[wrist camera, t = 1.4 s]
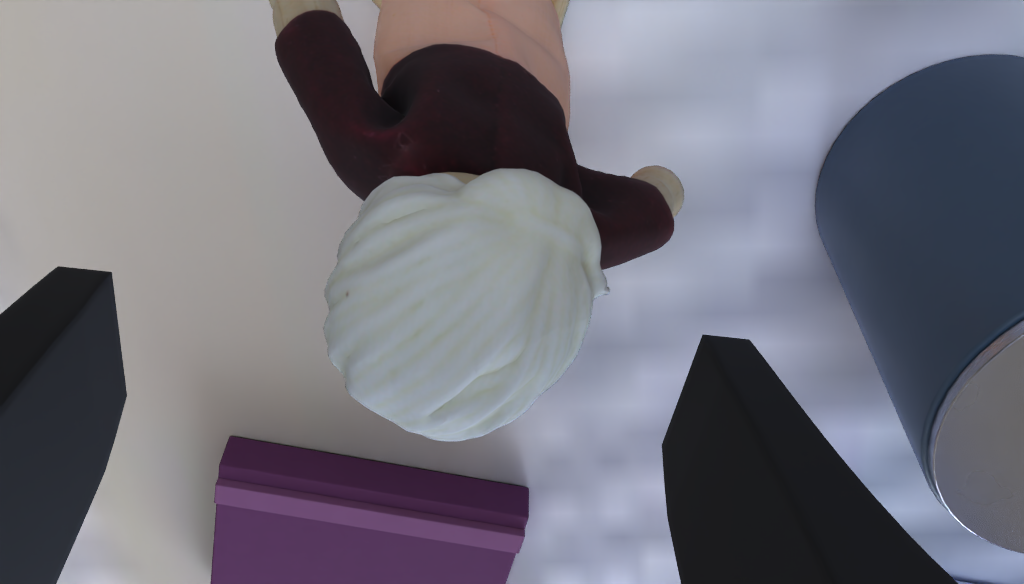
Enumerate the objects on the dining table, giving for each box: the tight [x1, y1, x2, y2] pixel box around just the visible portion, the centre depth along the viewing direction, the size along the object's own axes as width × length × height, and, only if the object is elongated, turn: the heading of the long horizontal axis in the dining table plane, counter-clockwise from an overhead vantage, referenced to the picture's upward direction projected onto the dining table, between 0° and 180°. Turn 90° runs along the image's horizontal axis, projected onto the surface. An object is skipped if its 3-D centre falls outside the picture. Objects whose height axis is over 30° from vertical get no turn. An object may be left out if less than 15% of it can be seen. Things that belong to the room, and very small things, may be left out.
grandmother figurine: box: [269, 0, 684, 441], centre depth 16 cm, size 8×4×13 cm, turn 71°
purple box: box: [211, 436, 529, 584], centre depth 31 cm, size 9×7×2 cm
